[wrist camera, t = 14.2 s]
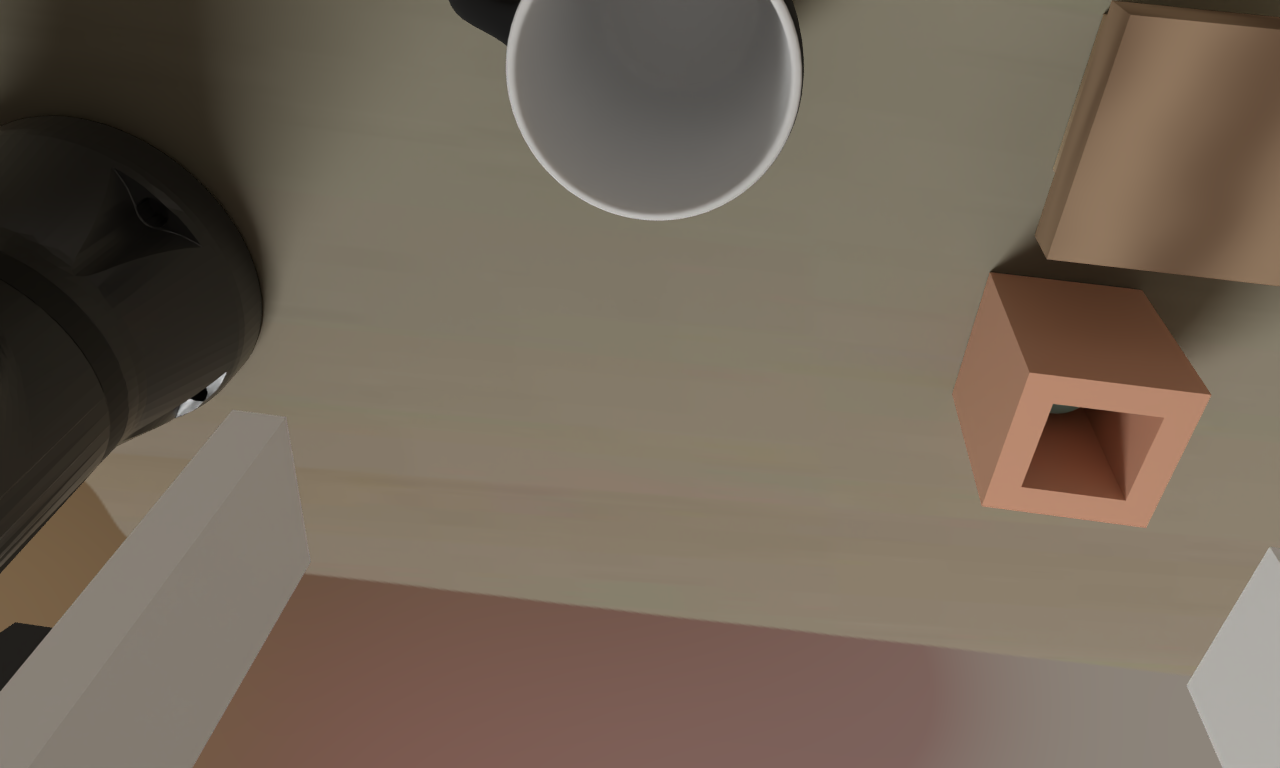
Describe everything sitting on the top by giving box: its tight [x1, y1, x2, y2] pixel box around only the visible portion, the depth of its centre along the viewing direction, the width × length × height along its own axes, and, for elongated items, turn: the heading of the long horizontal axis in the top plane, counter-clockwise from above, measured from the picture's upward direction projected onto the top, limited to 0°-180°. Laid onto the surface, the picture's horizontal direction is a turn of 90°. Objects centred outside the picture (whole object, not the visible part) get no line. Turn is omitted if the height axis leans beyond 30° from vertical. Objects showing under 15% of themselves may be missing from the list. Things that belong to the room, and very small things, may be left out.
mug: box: [449, 0, 804, 221], centre depth 33 cm, size 12×9×10 cm
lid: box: [1035, 1, 1280, 286], centre depth 33 cm, size 8×8×2 cm
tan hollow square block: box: [952, 272, 1211, 528], centre depth 40 cm, size 6×6×8 cm
